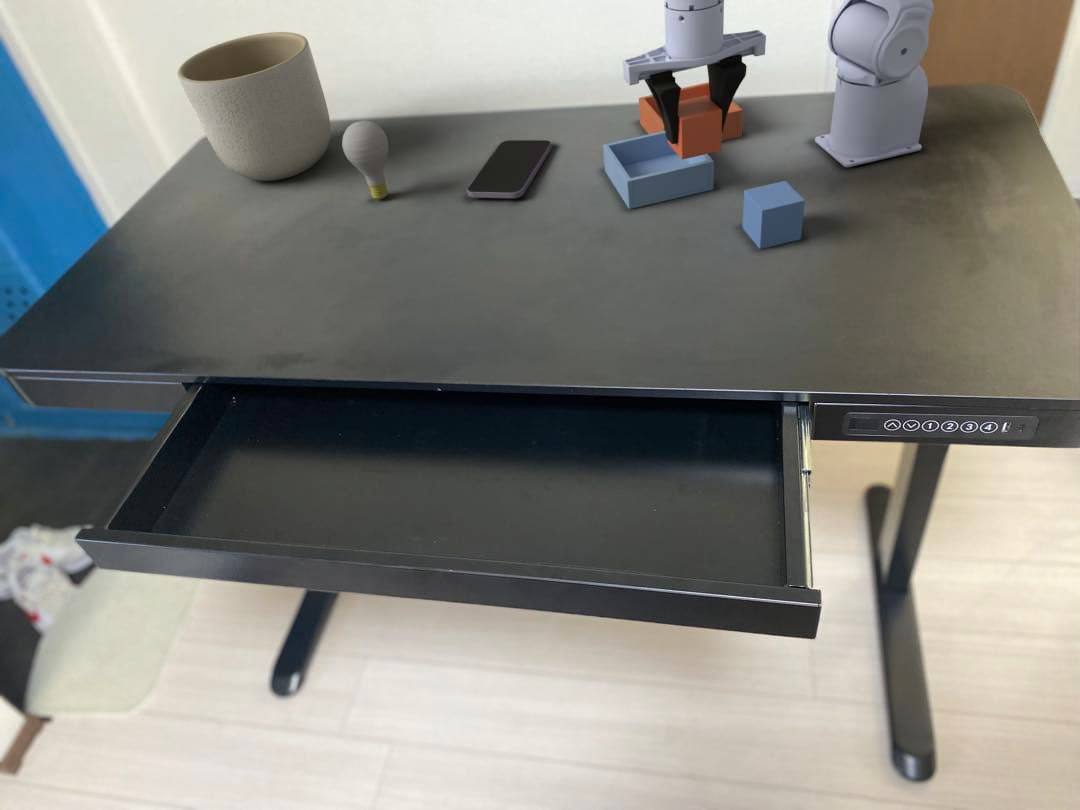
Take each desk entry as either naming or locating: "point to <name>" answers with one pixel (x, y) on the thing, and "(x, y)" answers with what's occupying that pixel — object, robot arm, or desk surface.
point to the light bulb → (368, 153)
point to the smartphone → (510, 169)
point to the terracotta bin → (651, 113)
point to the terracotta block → (698, 128)
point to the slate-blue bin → (655, 170)
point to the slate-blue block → (773, 214)
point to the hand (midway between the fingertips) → (694, 134)
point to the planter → (260, 104)
